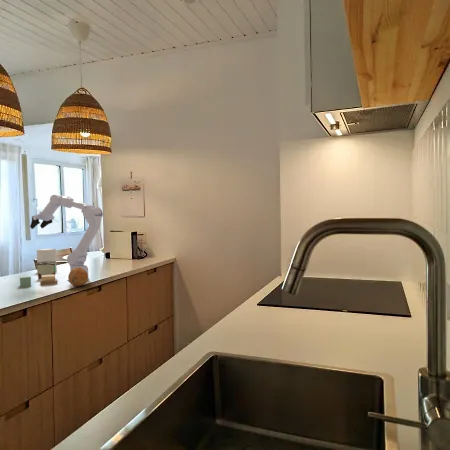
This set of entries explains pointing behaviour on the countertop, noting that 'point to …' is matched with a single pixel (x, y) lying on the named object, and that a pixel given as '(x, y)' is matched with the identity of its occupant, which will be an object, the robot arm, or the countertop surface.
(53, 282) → the walnut slab
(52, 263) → the food container
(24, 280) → the green cube
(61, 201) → the robot arm
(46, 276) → the oak slab
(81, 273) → the onion
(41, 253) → the supplement box
